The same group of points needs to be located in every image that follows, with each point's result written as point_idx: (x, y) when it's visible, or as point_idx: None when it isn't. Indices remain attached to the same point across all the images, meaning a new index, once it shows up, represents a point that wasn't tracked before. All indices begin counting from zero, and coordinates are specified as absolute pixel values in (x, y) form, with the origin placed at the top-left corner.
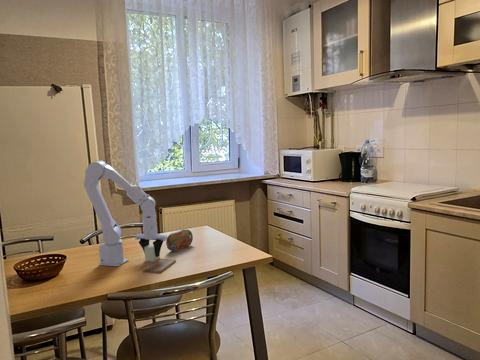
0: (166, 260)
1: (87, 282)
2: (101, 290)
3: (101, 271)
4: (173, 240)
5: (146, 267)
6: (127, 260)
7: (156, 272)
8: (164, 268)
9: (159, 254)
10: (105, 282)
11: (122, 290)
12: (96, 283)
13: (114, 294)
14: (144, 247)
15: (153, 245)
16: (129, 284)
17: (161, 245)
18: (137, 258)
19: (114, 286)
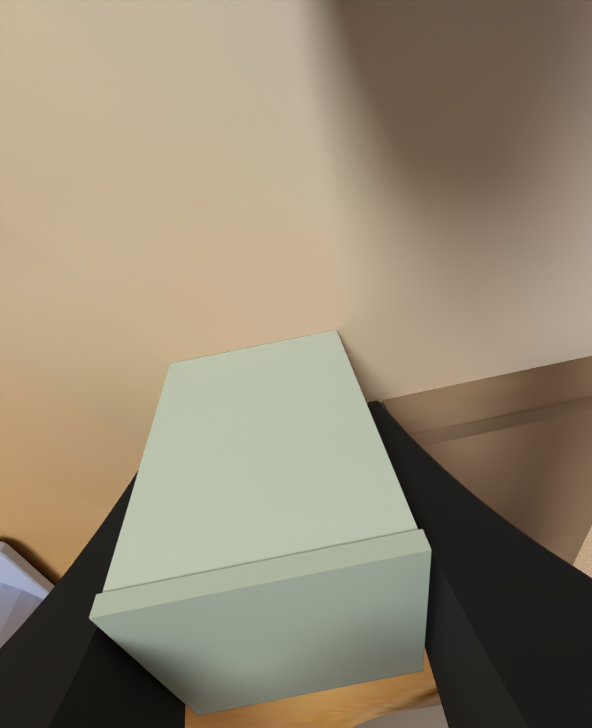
0: (539, 433)
1: (188, 725)
2: (337, 716)
3: None
4: None
5: None
6: (17, 557)
7: None
8: (577, 541)
9: (388, 416)
10: (280, 699)
11: (432, 691)
12: (245, 714)
13: (421, 706)
14: (205, 709)
15: (309, 626)
16: (427, 669)
17: (534, 549)
18: (19, 459)
19: (365, 694)
